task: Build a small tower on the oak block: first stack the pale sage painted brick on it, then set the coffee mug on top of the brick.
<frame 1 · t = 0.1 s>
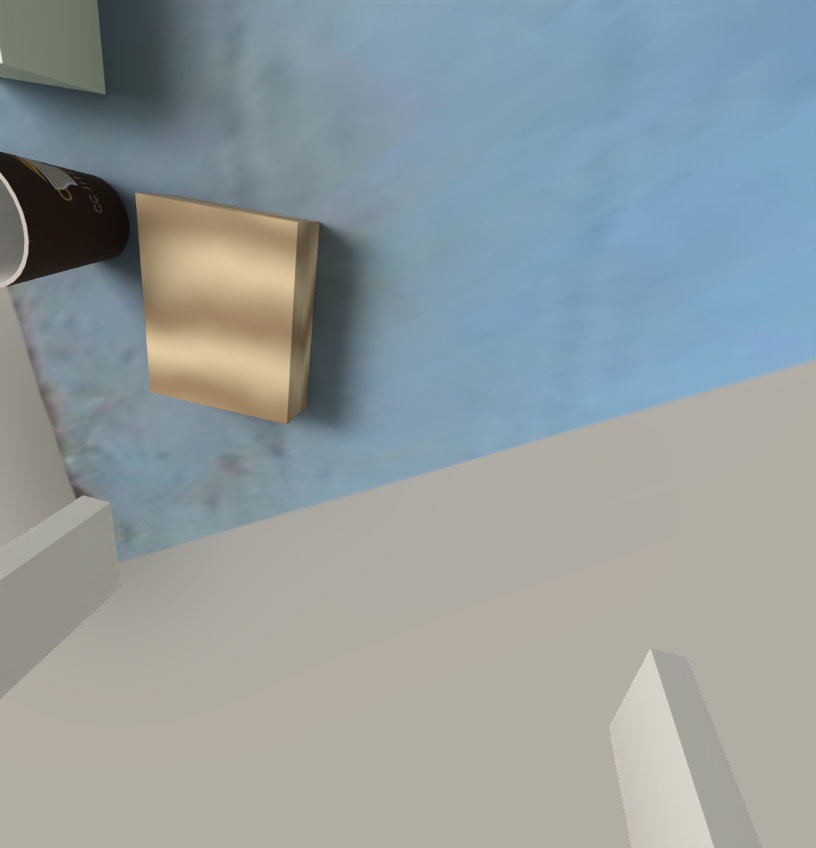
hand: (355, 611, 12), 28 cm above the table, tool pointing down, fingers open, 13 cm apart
oak block: (243, 307, 39), on the table
coffee mug: (84, 199, 39), on the table
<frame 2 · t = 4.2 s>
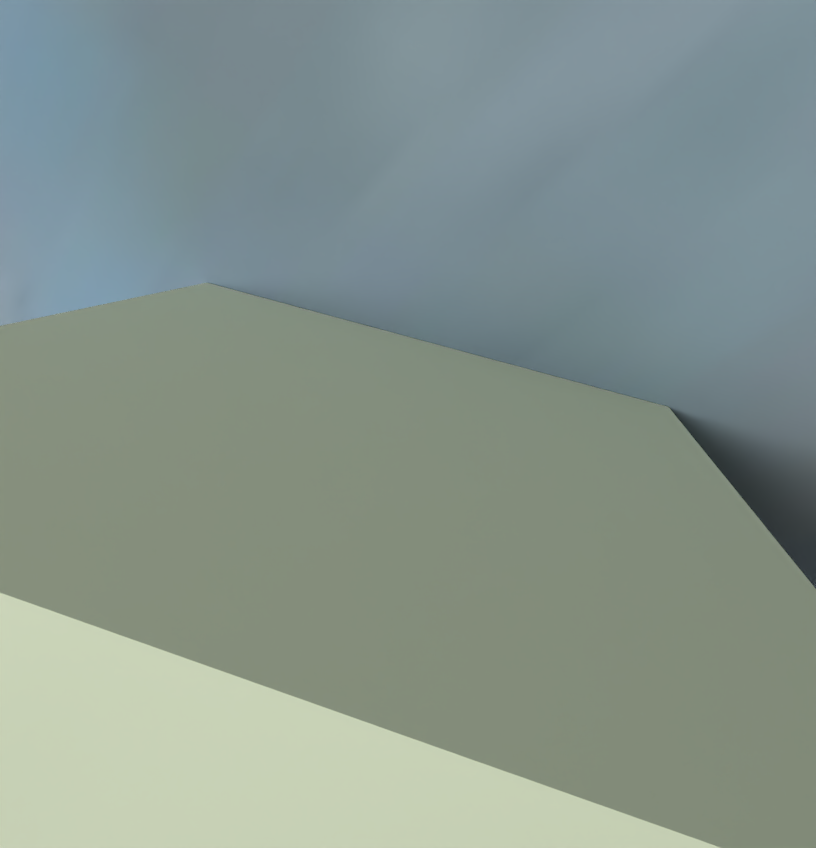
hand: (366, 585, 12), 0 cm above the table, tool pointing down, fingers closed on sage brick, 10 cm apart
sage brick: (371, 574, 13), on the table, touching gripper
when the fingers open (5 cm above the table, at t = 9.7 s): sage brick stays where it is, resting on oak block.
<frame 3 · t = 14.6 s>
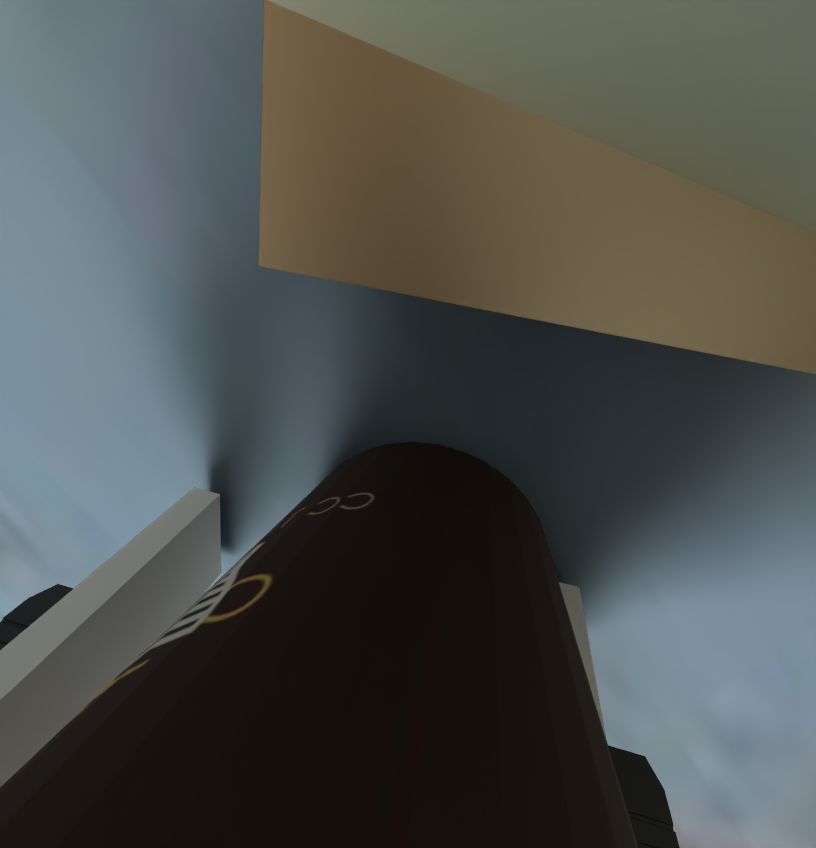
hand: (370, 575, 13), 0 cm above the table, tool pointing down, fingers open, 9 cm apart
coffee mug: (374, 559, 13), on the table, touching gripper
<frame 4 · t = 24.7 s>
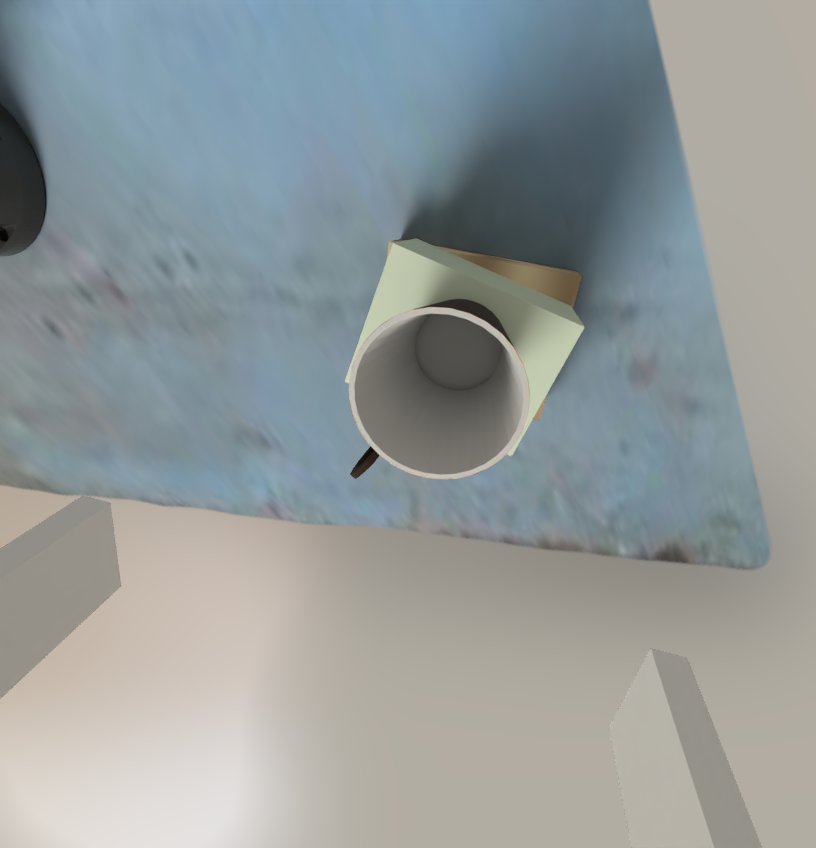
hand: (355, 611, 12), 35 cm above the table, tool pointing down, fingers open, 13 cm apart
oak block: (471, 324, 43), on the table
coffee mug: (437, 355, 32), point 12 cm above the table, touching sage brick
sage brick: (466, 330, 39), point 4 cm above the table, touching coffee mug, oak block
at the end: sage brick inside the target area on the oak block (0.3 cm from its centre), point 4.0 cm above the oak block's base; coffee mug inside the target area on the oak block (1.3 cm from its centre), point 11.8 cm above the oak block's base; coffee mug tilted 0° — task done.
